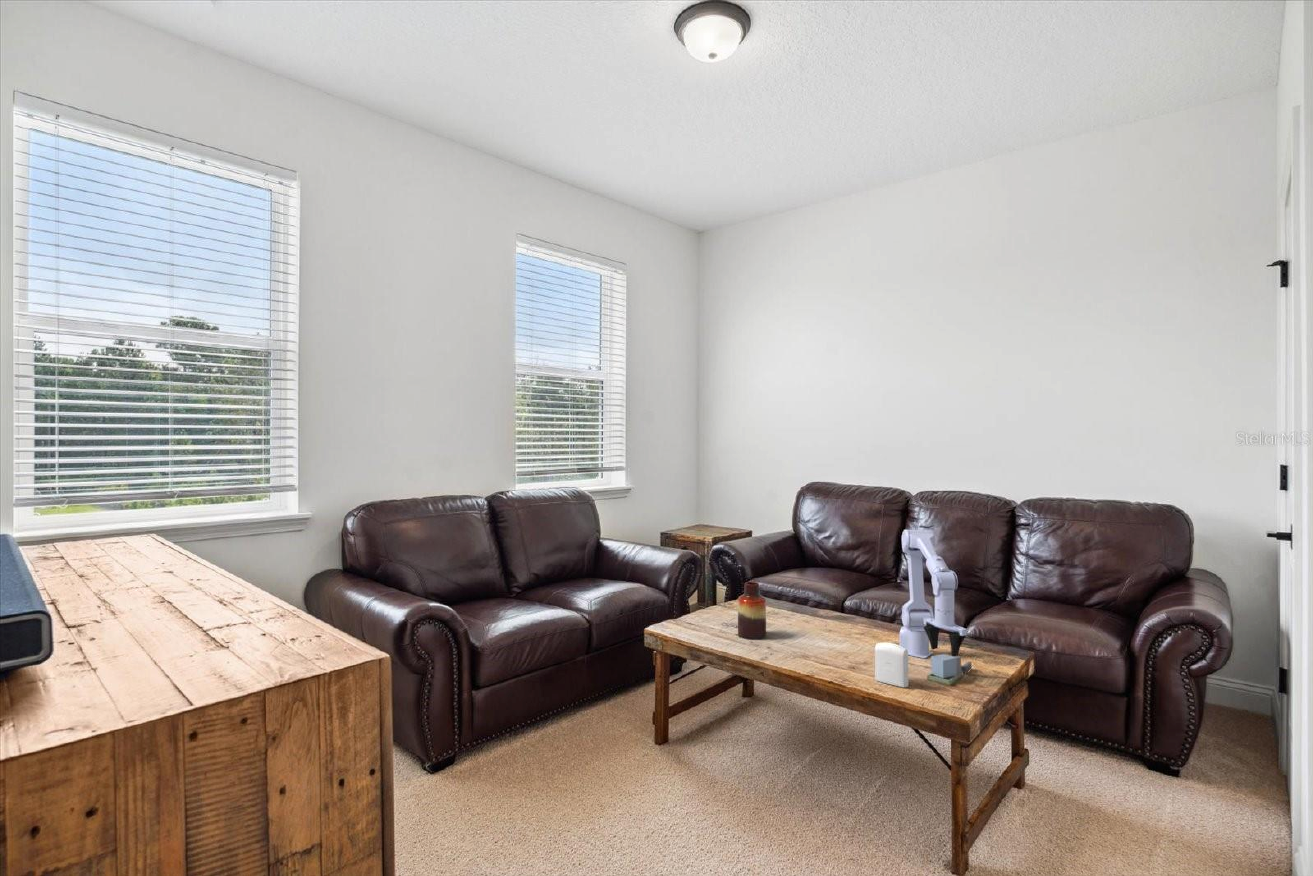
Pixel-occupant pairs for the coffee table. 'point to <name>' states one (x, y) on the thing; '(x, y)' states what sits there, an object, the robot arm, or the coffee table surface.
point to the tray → (944, 679)
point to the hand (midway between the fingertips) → (944, 652)
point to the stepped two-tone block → (945, 665)
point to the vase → (751, 613)
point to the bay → (966, 667)
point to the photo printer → (891, 664)
